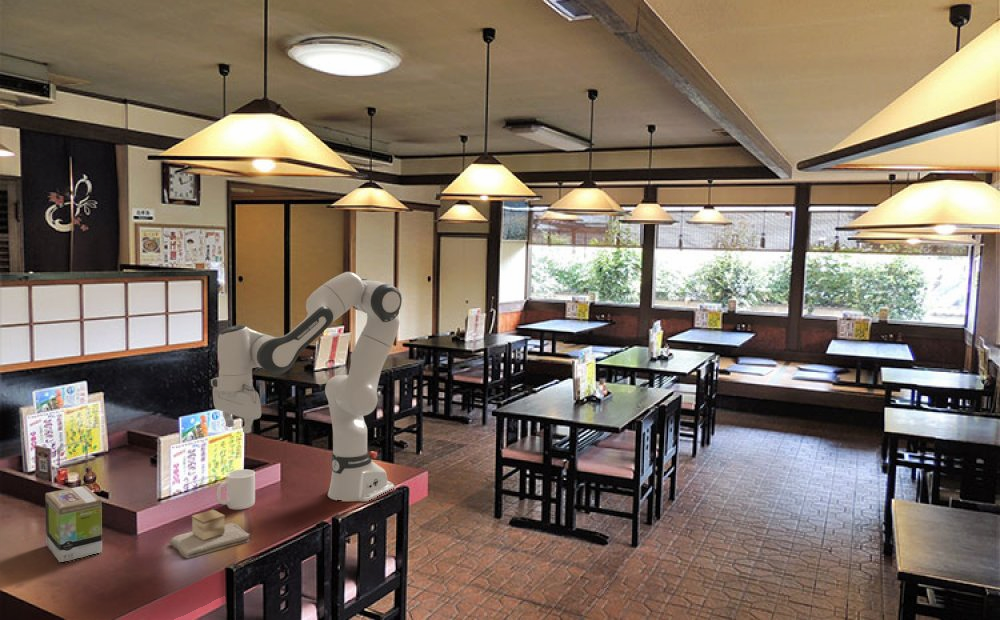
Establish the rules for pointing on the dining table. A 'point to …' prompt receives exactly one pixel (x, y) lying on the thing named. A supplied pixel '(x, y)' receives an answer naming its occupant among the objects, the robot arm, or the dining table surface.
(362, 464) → the robot arm
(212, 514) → the hinoki box
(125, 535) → the dining table surface
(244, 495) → the cup
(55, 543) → the tea box
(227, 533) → the washcloth
